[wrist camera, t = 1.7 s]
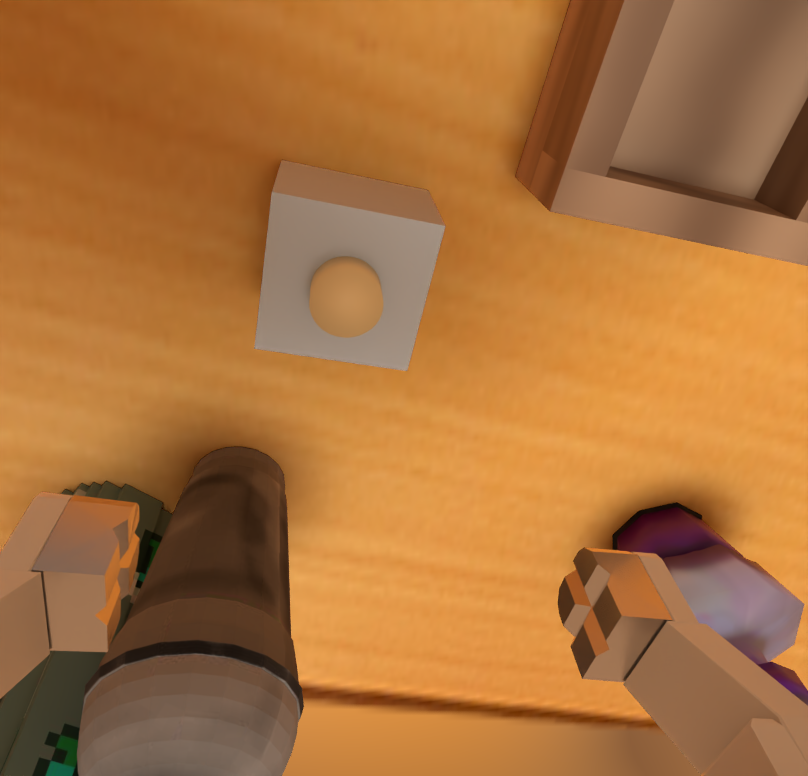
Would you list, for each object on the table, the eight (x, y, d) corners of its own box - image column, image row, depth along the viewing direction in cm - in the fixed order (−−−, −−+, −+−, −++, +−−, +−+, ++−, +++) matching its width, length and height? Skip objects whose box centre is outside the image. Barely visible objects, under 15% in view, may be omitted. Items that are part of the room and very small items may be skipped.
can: (135, 583, 34) (18, 934, 21) (25, 536, 31) (-182, 903, 19) (197, 520, 32) (109, 866, 19) (86, 463, 29) (-101, 822, 16)
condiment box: (515, 176, 24) (550, 211, 20) (619, -156, 19) (692, -193, 15) (737, 225, 26) (807, 265, 22) (887, -62, 21) (1011, -75, 17)
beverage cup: (161, 415, 28) (-93, 1044, 11) (320, 430, 29) (304, 1012, 13) (163, 529, 32) (-24, 1126, 15) (305, 538, 33) (277, 1095, 16)
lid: (265, 296, 26) (250, 365, 21) (282, 158, 23) (268, 202, 18) (396, 317, 27) (410, 388, 22) (427, 189, 24) (451, 238, 19)
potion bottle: (691, 589, 39) (815, 797, 29) (564, 584, 37) (650, 801, 27) (756, 488, 34) (930, 692, 24) (616, 476, 33) (740, 688, 23)
